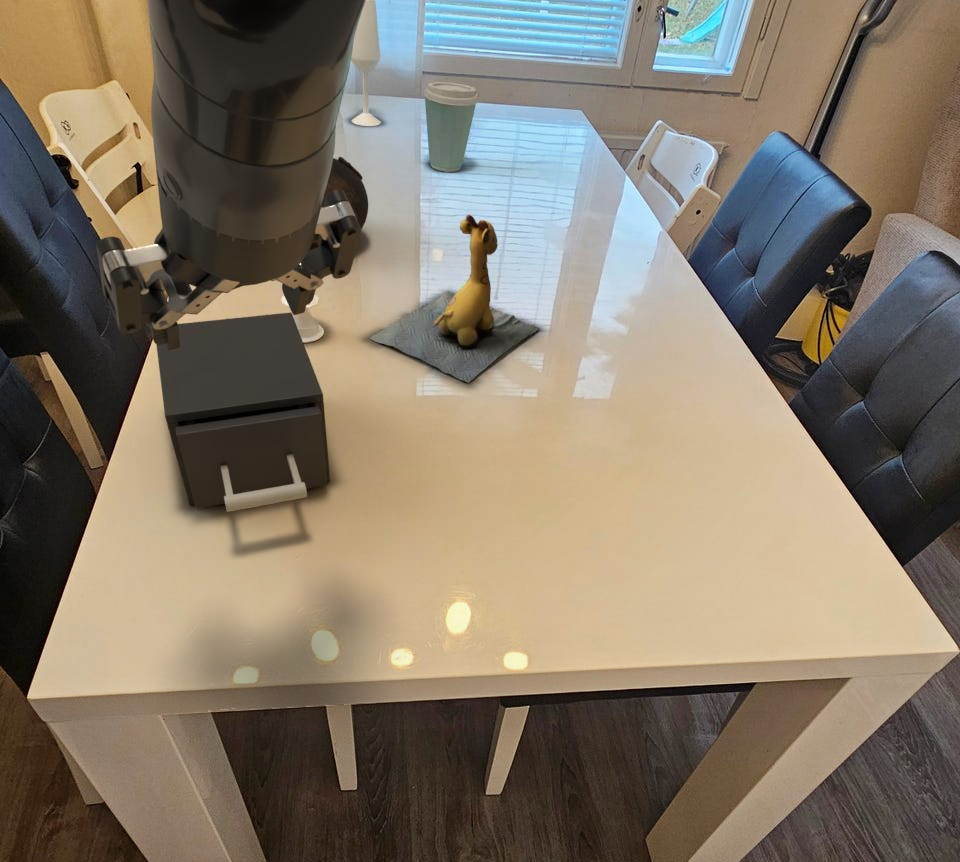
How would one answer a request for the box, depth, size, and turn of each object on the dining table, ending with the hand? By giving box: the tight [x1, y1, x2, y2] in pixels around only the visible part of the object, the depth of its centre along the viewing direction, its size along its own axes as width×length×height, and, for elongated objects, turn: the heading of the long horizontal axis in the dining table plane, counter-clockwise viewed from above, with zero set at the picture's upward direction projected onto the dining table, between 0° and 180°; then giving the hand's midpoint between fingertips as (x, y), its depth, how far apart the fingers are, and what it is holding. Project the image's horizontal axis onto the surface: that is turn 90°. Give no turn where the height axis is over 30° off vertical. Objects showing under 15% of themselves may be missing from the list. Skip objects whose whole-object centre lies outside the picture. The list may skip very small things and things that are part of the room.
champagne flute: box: [351, 0, 382, 127], centre depth 154 cm, size 7×7×24 cm
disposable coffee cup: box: [423, 81, 479, 173], centre depth 140 cm, size 11×11×15 cm
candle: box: [280, 294, 325, 344], centre depth 89 cm, size 5×5×12 cm
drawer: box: [175, 404, 328, 513], centre depth 69 cm, size 20×13×9 cm, turn 21°
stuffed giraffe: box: [369, 214, 541, 384], centre depth 91 cm, size 16×18×16 cm
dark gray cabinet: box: [155, 311, 331, 506], centre depth 72 cm, size 16×14×11 cm
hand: (232, 318), depth 47 cm, fingers open, 8 cm apart
